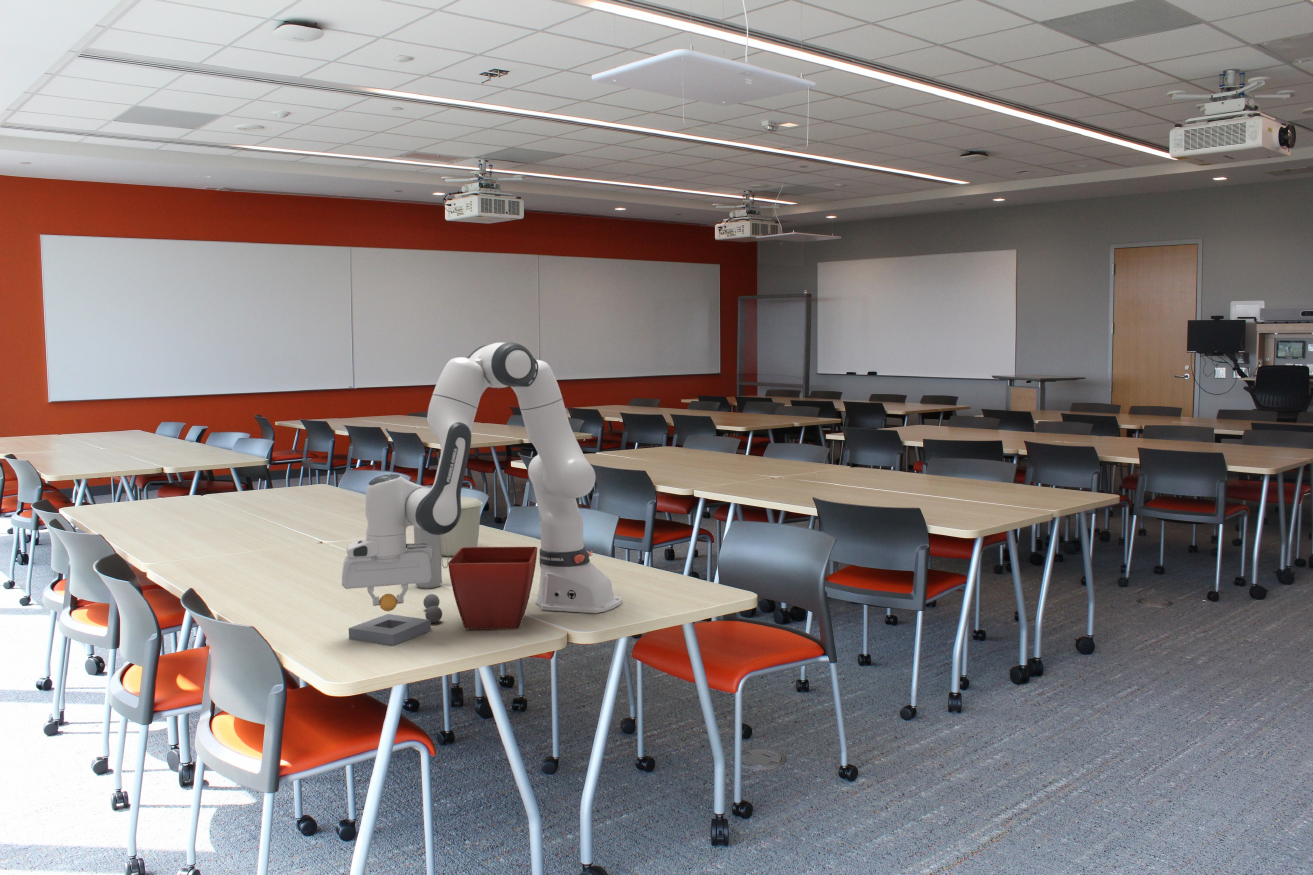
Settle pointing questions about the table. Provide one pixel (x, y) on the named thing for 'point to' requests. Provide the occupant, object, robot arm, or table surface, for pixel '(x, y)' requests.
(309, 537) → the table surface
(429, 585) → the water bottle
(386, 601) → the orange ball
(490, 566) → the plant pot
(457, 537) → the canister
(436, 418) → the robot arm
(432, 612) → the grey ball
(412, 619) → the grey square frame
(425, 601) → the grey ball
